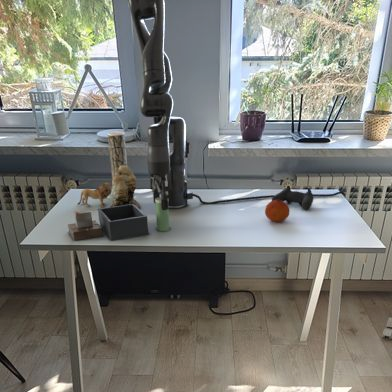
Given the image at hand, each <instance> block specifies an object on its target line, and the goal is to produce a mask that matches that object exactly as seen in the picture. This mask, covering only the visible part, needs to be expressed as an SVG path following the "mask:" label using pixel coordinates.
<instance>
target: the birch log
mask: <svg viewBox="0 0 392 392" xmlns="http://www.w3.org/2000/svg"><path fill="white" fill-rule="evenodd" d="M125 136H126V135H125V131H120V130H117V131H116V130H113V131H108V132H107V141H108V142H107V143H108V150H109V161H110V170H111V179H112V180H111V181H113V177H115V176H119V174H118V168H119V167H120V166H123V165H125V166H127V167H128V160H127V148H126V137H125Z"/></svg>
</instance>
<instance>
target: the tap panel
mask: <svg viewBox="0 0 392 392" xmlns="http://www.w3.org/2000/svg"><path fill="white" fill-rule="evenodd" d="M92 222H93V226H89V227H82V228H77V227H76V222H75V223H68V224H67V228H68V233H69V234H70V236H71V237H72V239H73V241H82V240H87V239H93V238H100V237H103V230H102V228H101V227H100V223H99V222H97V220H94V219H93V220H92Z"/></svg>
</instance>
